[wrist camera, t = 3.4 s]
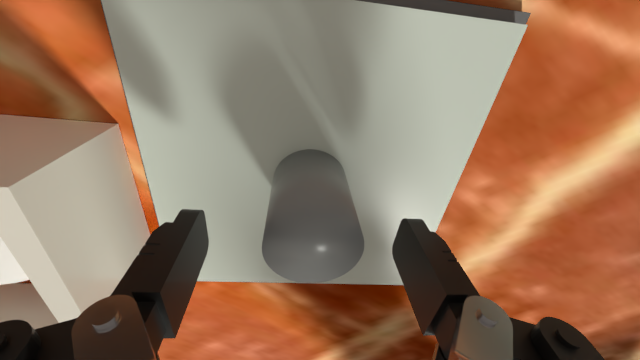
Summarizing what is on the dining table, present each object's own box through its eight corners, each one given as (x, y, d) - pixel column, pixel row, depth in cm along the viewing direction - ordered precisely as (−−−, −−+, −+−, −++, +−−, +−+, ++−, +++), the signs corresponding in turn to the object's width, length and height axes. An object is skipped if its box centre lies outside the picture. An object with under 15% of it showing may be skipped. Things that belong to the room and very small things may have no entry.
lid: (515, 24, 12) (667, 28, 7) (408, 276, 21) (442, 357, 16) (105, -34, 10) (-85, -85, 5) (178, 271, 19) (134, 361, 14)
